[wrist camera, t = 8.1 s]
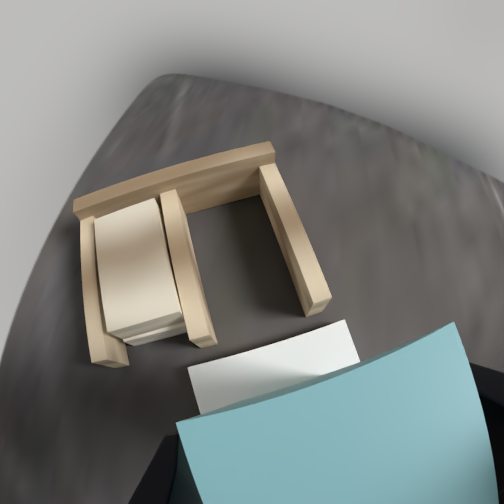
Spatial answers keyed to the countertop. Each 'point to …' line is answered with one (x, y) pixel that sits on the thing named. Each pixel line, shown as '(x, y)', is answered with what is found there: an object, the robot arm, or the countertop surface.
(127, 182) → the oak rack
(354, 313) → the countertop surface
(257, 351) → the white pad
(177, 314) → the offcut top
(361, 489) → the teal rectangular block
